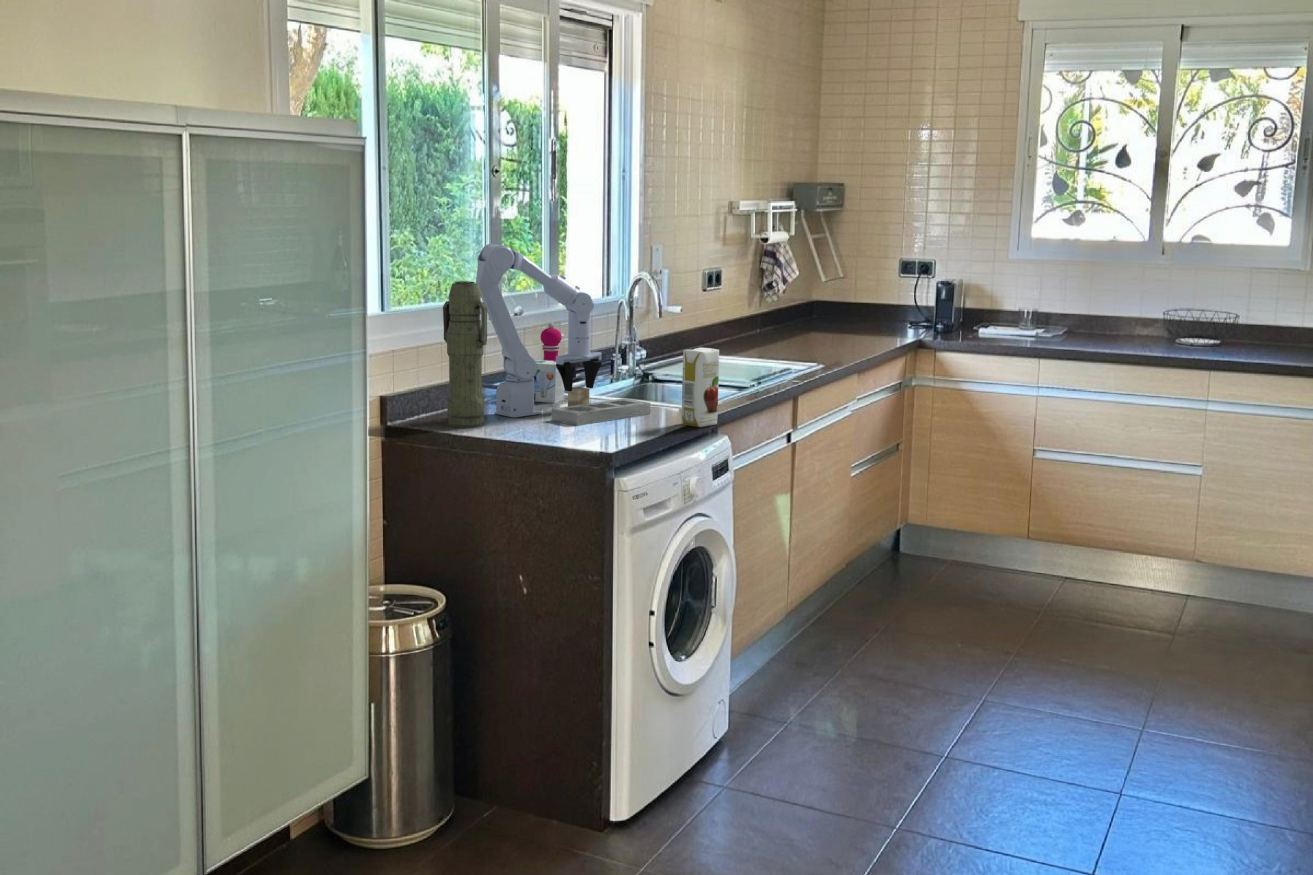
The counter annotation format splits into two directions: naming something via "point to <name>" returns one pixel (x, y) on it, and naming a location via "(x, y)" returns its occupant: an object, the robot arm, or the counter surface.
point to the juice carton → (700, 387)
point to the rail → (600, 411)
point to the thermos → (465, 353)
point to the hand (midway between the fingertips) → (578, 389)
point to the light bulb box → (548, 382)
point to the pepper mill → (550, 342)
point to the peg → (578, 396)
